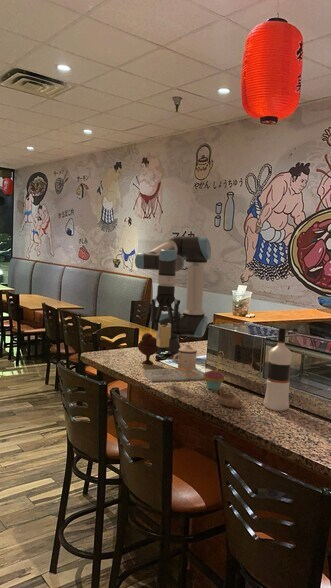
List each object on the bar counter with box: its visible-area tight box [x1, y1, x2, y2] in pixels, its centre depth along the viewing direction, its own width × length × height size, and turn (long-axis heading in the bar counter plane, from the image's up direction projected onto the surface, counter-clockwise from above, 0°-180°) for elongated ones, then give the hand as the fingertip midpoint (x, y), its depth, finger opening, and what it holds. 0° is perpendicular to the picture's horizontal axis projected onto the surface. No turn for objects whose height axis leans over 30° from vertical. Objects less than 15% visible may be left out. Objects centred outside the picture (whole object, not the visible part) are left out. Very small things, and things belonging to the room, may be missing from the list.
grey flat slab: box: [142, 367, 205, 382], centre depth 208 cm, size 12×25×2 cm, turn 110°
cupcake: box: [203, 359, 225, 390], centre depth 194 cm, size 9×8×12 cm
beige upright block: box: [156, 325, 170, 347], centre depth 205 cm, size 4×4×9 cm
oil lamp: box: [216, 387, 243, 409], centre depth 173 cm, size 13×8×5 cm, turn 29°
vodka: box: [263, 327, 293, 412], centre depth 172 cm, size 9×9×30 cm
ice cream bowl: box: [137, 332, 159, 366], centre depth 230 cm, size 11×11×15 cm
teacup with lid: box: [172, 343, 198, 369], centre depth 225 cm, size 12×9×12 cm
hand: (163, 337), depth 205 cm, fingers closed on beige upright block, 4 cm apart
